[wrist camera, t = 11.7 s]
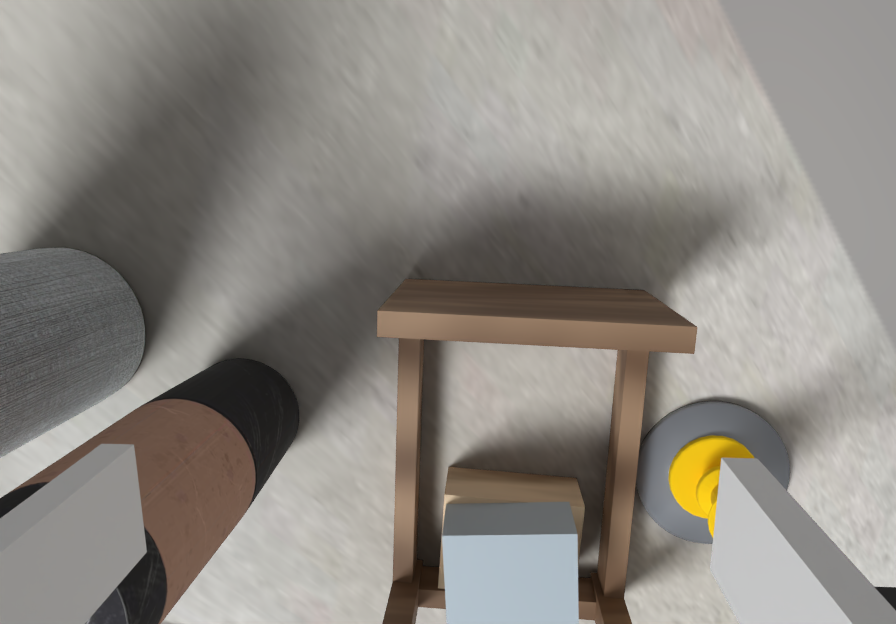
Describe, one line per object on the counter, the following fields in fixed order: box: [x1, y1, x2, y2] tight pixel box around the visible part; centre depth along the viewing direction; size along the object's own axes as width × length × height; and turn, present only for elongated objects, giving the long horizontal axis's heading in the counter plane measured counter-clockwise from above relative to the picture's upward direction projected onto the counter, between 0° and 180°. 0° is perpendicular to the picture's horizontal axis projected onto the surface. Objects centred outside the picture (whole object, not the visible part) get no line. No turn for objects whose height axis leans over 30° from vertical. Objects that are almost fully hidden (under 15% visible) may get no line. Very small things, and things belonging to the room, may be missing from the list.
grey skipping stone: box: [636, 401, 790, 544], centre depth 40 cm, size 9×9×1 cm
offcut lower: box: [438, 467, 585, 589], centre depth 40 cm, size 6×8×4 cm
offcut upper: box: [442, 502, 579, 624], centre depth 36 cm, size 6×7×4 cm
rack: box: [377, 279, 697, 624], centre depth 36 cm, size 20×14×10 cm
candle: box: [668, 435, 754, 537], centre depth 32 cm, size 5×5×16 cm
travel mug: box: [0, 359, 299, 624], centre depth 31 cm, size 8×8×20 cm
